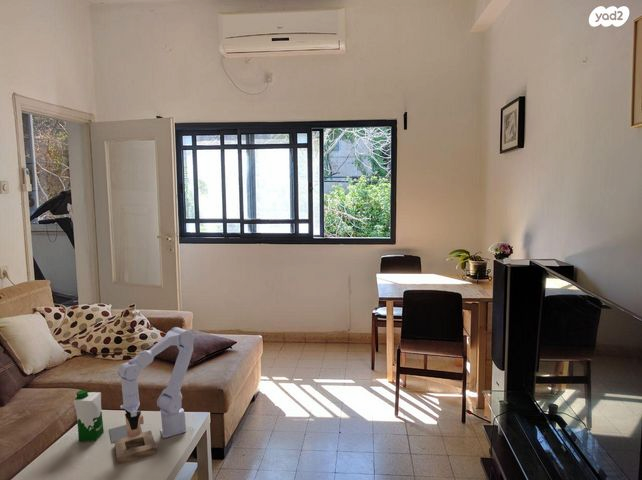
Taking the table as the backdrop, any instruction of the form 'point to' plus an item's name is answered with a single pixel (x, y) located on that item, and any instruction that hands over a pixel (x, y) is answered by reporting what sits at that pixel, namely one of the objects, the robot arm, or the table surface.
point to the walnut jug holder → (136, 452)
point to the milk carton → (89, 415)
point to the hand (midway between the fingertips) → (133, 425)
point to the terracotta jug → (136, 431)
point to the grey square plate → (118, 433)
